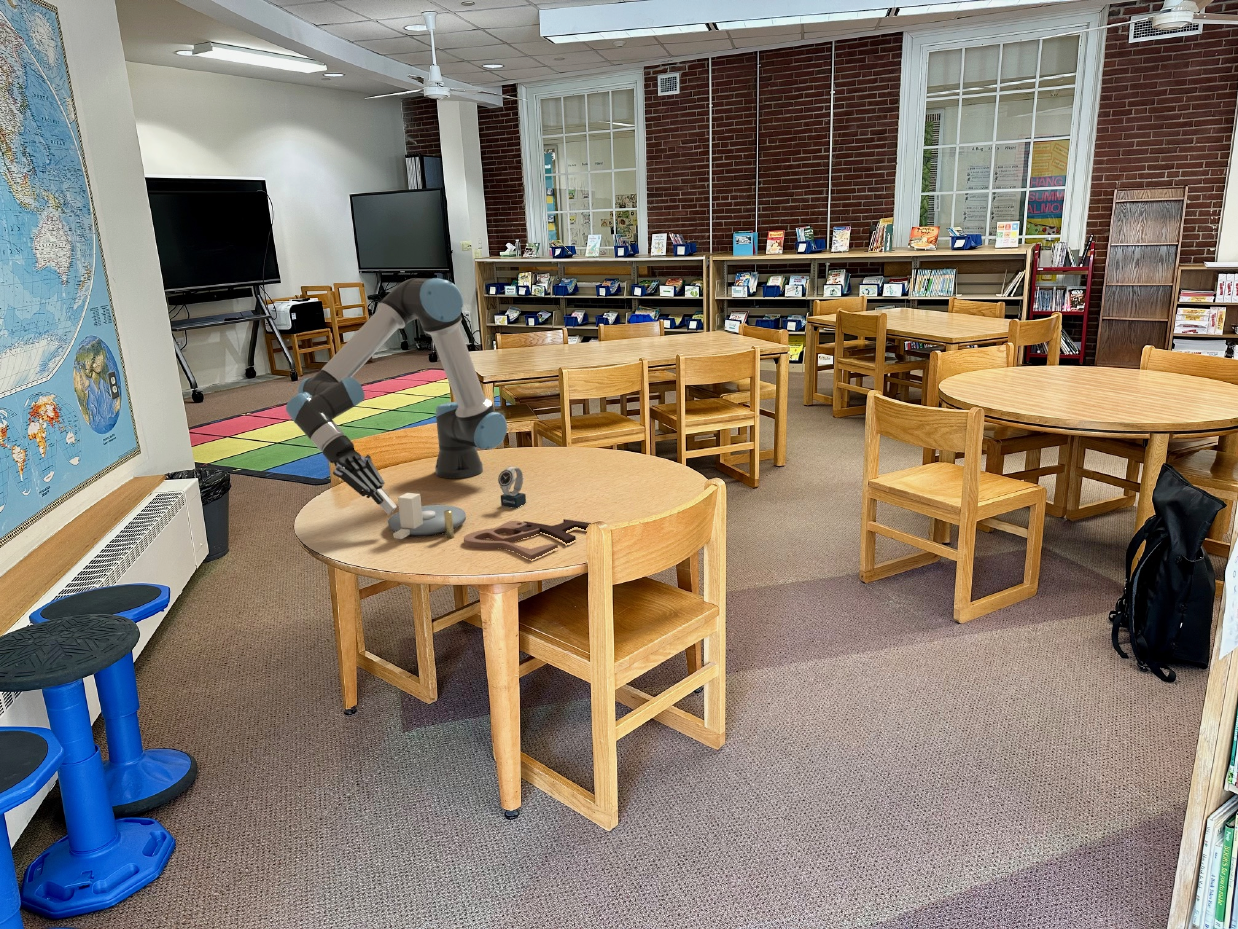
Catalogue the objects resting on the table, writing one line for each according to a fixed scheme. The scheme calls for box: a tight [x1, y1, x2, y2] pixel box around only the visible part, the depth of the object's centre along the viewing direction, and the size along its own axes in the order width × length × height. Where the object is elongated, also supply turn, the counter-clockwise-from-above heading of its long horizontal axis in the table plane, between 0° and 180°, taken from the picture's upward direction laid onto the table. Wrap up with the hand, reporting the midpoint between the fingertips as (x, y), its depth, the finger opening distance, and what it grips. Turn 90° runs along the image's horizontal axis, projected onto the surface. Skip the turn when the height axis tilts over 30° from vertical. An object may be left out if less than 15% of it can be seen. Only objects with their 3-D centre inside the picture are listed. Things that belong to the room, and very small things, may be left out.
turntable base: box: [407, 526, 458, 538], centre depth 222 cm, size 16×16×1 cm
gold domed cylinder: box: [444, 510, 455, 540], centre depth 213 cm, size 2×2×7 cm
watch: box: [497, 466, 527, 509], centre depth 236 cm, size 6×8×11 cm
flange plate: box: [387, 492, 467, 540], centre depth 219 cm, size 24×20×9 cm
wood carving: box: [463, 518, 592, 560], centre depth 212 cm, size 28×2×24 cm
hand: (392, 510), depth 216 cm, fingers closed
